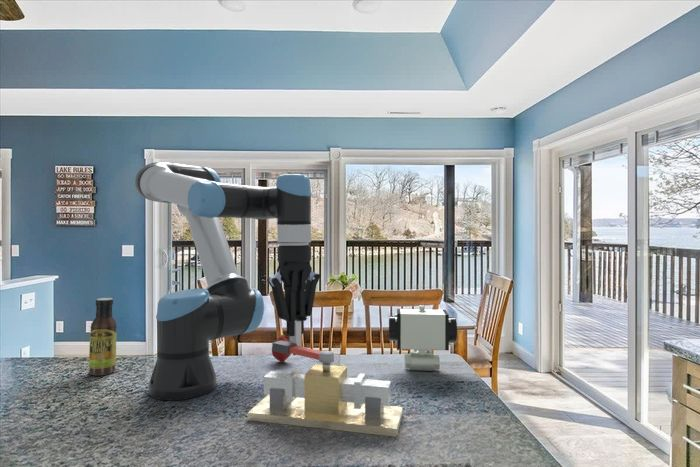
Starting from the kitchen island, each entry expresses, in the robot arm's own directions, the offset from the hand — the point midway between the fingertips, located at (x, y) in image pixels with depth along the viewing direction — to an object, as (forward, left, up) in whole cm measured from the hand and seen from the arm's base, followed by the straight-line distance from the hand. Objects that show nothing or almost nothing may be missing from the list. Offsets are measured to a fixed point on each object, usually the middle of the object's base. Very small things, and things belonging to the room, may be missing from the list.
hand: (295, 349), depth 94 cm
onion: (-14, +26, -12) cm, 31 cm away
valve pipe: (+9, -6, -12) cm, 16 cm away
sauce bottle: (-57, +6, -12) cm, 58 cm away
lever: (+3, -4, 0) cm, 5 cm away
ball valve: (+26, +29, -12) cm, 41 cm away
